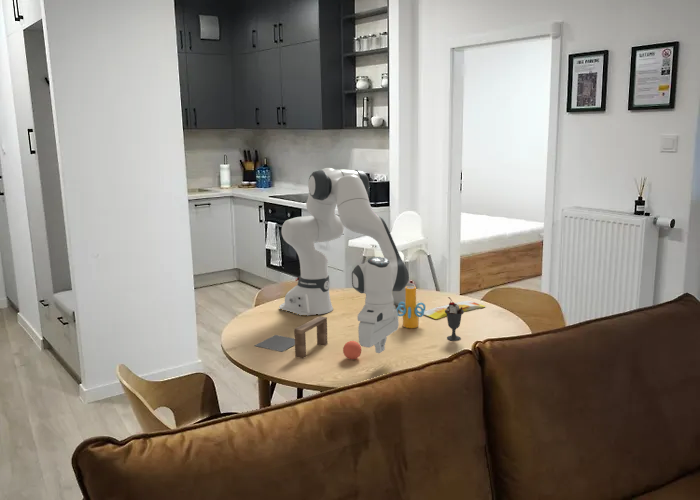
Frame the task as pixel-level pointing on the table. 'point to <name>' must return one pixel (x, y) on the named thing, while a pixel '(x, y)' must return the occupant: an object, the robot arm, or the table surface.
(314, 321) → the bridge
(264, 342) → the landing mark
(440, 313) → the food package
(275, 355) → the table surface
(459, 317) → the sundae
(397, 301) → the teacup
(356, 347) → the ball
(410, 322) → the cylinder
